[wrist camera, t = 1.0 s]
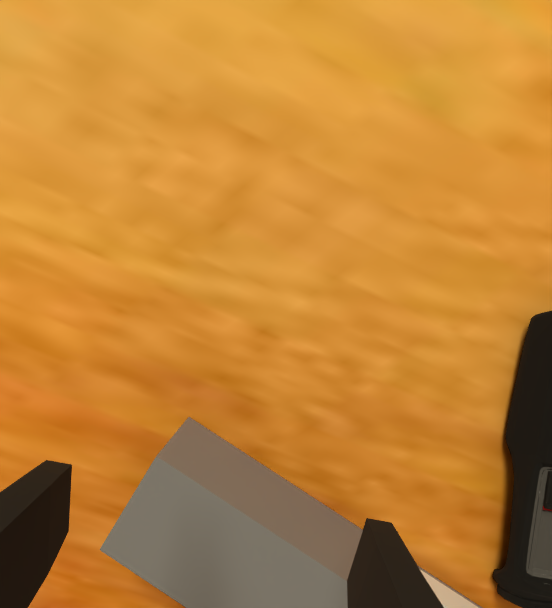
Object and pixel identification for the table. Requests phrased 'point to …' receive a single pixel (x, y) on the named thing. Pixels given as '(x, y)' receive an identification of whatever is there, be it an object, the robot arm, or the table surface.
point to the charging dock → (236, 533)
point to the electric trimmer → (531, 474)
